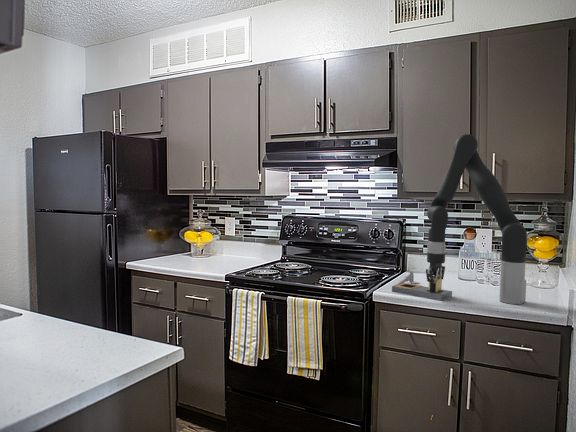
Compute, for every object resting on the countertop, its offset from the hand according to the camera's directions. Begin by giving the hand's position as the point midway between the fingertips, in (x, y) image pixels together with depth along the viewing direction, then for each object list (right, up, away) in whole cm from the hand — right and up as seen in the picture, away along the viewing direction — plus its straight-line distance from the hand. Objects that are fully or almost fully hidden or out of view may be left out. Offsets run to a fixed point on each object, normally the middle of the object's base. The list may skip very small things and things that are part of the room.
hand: (435, 290), depth 204 cm
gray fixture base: (-5, -2, +5) cm, 7 cm away
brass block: (0, -3, 0) cm, 3 cm away
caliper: (-8, -2, +23) cm, 25 cm away
